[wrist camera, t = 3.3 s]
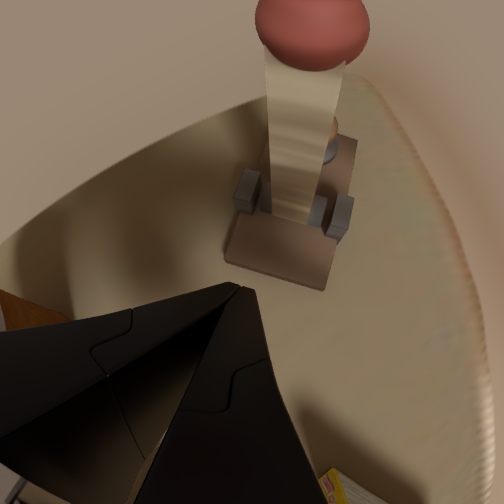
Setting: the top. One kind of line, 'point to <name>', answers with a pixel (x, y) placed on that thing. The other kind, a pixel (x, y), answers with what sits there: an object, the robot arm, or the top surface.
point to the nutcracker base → (290, 232)
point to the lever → (304, 94)
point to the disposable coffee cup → (24, 313)
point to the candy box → (345, 490)
